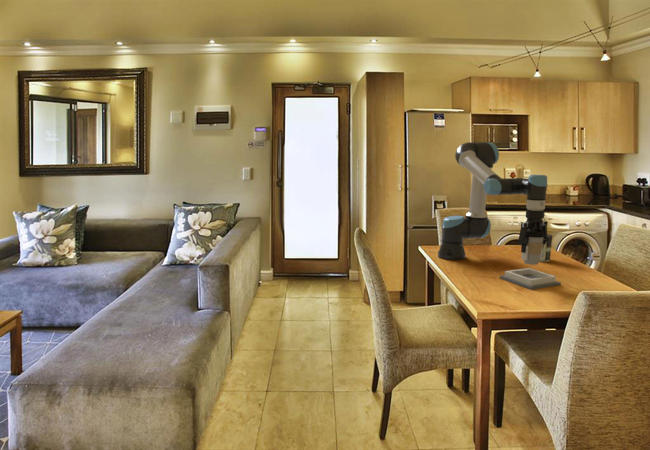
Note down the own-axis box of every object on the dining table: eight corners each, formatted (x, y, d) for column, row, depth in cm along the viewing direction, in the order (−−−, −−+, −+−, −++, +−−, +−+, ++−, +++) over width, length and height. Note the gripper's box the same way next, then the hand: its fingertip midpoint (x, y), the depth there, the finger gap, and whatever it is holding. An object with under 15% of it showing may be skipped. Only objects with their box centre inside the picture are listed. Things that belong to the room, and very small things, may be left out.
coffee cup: (522, 259, 194) (525, 228, 191) (544, 262, 188) (547, 230, 186) (517, 263, 187) (519, 231, 184) (540, 267, 181) (542, 233, 178)
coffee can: (544, 257, 233) (546, 233, 231) (553, 261, 223) (556, 236, 221) (526, 257, 233) (528, 233, 231) (534, 261, 223) (537, 236, 221)
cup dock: (499, 278, 194) (500, 270, 194) (528, 274, 200) (528, 266, 200) (530, 289, 178) (531, 281, 177) (560, 284, 184) (561, 277, 183)
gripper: (524, 211, 176) (520, 262, 180) (559, 209, 183) (555, 258, 187) (511, 209, 183) (507, 258, 187) (545, 207, 190) (541, 254, 194)
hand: (531, 258), depth 187 cm, fingers closed on coffee cup, 8 cm apart
